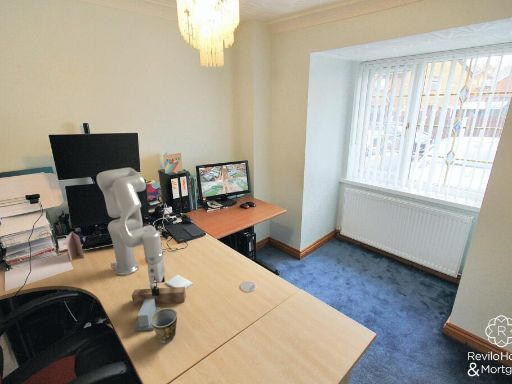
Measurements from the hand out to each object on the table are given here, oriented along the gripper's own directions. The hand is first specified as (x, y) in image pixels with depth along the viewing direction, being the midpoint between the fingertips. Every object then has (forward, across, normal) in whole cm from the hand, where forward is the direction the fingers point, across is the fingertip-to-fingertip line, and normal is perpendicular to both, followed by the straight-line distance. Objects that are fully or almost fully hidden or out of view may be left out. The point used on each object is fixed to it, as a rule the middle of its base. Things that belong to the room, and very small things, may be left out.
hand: (158, 288), depth 126 cm
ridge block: (+7, -12, +2) cm, 14 cm away
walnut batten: (+8, 0, 0) cm, 8 cm away
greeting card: (+6, +46, +62) cm, 78 cm away
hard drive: (+8, +13, -6) cm, 16 cm away
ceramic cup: (+8, -22, -8) cm, 25 cm away
